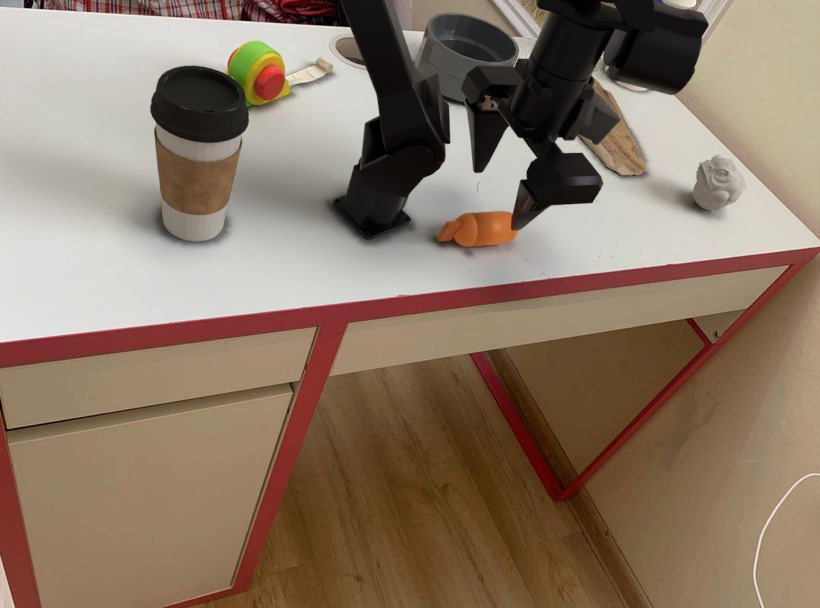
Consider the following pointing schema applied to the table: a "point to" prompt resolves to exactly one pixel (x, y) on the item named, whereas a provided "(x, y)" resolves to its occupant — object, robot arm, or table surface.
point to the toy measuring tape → (268, 72)
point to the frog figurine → (717, 183)
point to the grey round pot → (462, 49)
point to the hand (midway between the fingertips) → (495, 199)
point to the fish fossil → (617, 142)
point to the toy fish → (479, 229)
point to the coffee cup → (197, 147)
